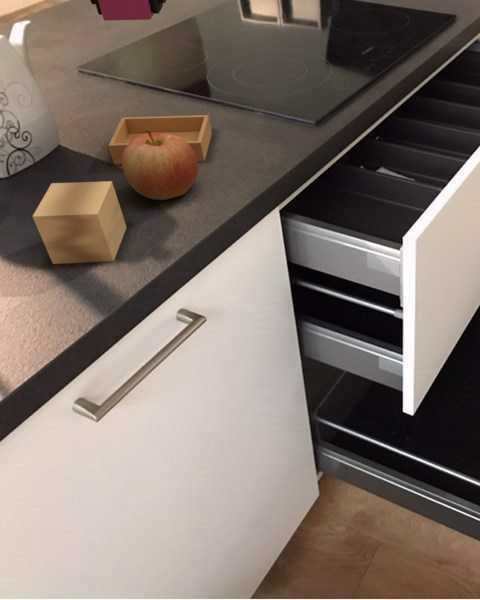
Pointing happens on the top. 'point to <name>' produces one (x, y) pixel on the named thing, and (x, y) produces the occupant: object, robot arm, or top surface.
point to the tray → (185, 127)
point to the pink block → (125, 9)
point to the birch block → (80, 222)
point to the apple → (159, 165)
